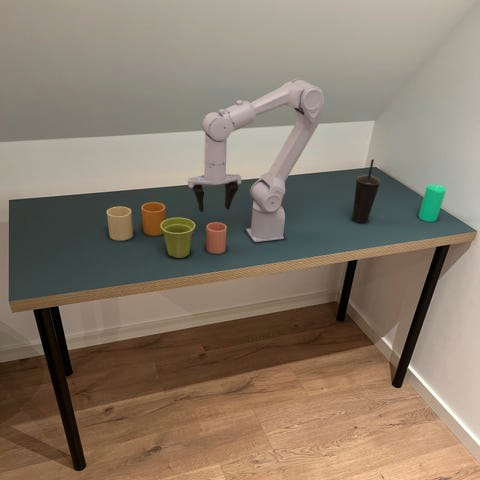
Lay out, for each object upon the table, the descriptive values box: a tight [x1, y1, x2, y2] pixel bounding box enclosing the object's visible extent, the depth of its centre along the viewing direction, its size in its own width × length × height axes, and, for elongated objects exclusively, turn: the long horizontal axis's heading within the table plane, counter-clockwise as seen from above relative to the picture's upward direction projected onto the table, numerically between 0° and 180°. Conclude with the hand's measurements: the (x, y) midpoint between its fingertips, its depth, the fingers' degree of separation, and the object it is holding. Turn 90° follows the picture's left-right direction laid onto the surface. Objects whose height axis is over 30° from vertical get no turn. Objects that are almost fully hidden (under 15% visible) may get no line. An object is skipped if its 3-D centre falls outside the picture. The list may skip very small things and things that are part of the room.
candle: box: [418, 183, 447, 222], centre depth 168 cm, size 6×6×12 cm
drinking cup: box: [351, 158, 382, 224], centre depth 161 cm, size 8×8×20 cm
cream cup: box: [106, 206, 134, 242], centre depth 148 cm, size 7×7×8 cm
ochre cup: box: [140, 201, 167, 237], centre depth 151 cm, size 7×7×8 cm
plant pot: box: [160, 217, 196, 259], centre depth 141 cm, size 9×9×9 cm
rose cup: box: [205, 221, 228, 255], centre depth 145 cm, size 6×6×7 cm
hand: (214, 209), depth 144 cm, fingers open, 7 cm apart
